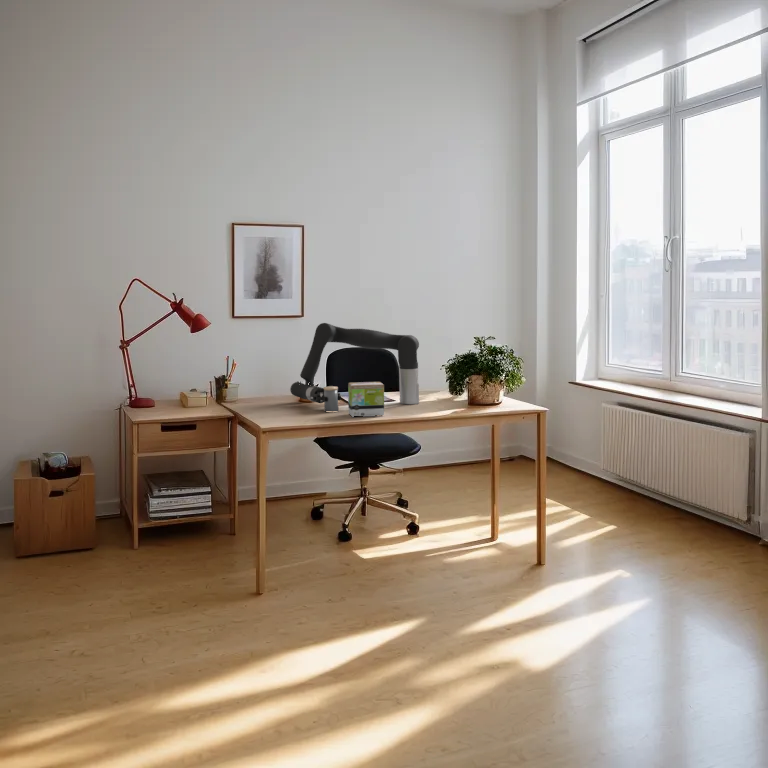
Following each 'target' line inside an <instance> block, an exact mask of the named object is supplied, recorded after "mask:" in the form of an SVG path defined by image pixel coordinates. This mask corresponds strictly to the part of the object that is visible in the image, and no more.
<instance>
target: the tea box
mask: <svg viewBox="0 0 768 768" xmlns="http://www.w3.org/2000/svg"><path fill="white" fill-rule="evenodd" d="M347 384H348V385H347V388H348V389H347V390H348V391H347V396H348V398H347V401H348V405H347V406H348V412H347V413H348V415H349V414H350V415H351V416H352V417H351V416H350V415H349V416H350V417H351V418H355V417H354V416H363V417H376V416H375V415H384V416H385V384H383V383H382V382H381V381H363V382H362V381H361V382H359V381H358V382H348V383H347Z"/></svg>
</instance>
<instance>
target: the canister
mask: <svg viewBox="0 0 768 768" xmlns="http://www.w3.org/2000/svg"><path fill="white" fill-rule="evenodd" d="M323 388H324V396H325V397H327V398H328V401H327V402H325V401H324V402H323V403H324V405H323V407H324V412H325V411H338V412H339V400H338V393H339V392H338V391H339V387H338V386H333V385H329V386H323Z"/></svg>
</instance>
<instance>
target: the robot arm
mask: <svg viewBox="0 0 768 768" xmlns="http://www.w3.org/2000/svg"><path fill="white" fill-rule="evenodd" d="M416 337H417V336H416ZM416 337H415V336H414V335H411V334H393V333H387V332H385V331H384V332H383V331H379V330H374V329H373V330H372V329H368V328H367V329H366V328H345V327H340V326H337V325H336V326H335V325H334V324H331V323H327V322H322V323H319V324H318V325H317V326H316V329H315V332H314V335H313V340H312V345H311V347H310V350H309V353H308V355H307V358H306V360H305V362H304V365H303V367H302V369H301V372H300V374H299V375H300V378H301V379H303V380H304V381H305V383H302V382H299V381H295V382H294V383H292V384H291V385H290V389H289V390H290V393H291V394H292V396H294V397H297V398H300V399H303V400H307V401H310V402H313V403H317V404H323V403H324V401H325V402H327V401H328V398H327V397H325V396H324V387H321V386H316V385H313V384H314V379H315V377H316V375H317V372H318V369H319V366H320V363H321V359H322V355H323V352H324V350H325V347H326V345H327V344H328V343H341V344H347V345H351V346H355V347H358V348H364V349H371V350H388V349H389V350H396V351H397V359H398V361H397V362H398V366H399V369H398V371H399V372H398V373H399V382H398V383H399V404H401V405H416V404H420V389H419V388H420V385H419V362H418V353H417V352H418V349H419V347H420V341H419V340H418V338H416ZM309 382H310V383H309ZM308 383H309V385H308ZM299 384H300V385H299ZM310 385H311V386H310ZM300 388H301V389H300ZM341 400H342V395H341V393H339V392H338V401H341Z"/></svg>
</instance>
